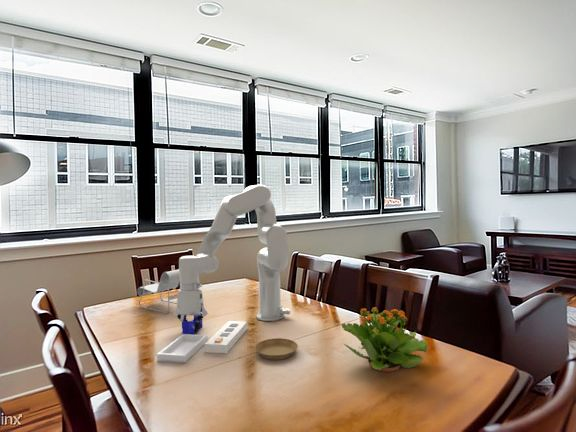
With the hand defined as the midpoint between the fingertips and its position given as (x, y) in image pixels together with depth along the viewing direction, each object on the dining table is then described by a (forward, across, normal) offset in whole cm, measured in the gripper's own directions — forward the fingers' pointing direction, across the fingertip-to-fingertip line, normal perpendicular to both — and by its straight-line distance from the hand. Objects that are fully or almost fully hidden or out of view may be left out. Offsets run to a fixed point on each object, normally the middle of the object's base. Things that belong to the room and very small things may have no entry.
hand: (191, 330), depth 146 cm
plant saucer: (+1, -39, +15) cm, 42 cm away
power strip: (+1, -18, +6) cm, 19 cm away
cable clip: (+1, 0, 0) cm, 1 cm away
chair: (+1, +30, -32) cm, 44 cm away
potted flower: (+1, -74, +20) cm, 77 cm away
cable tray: (+1, -6, +18) cm, 19 cm away
